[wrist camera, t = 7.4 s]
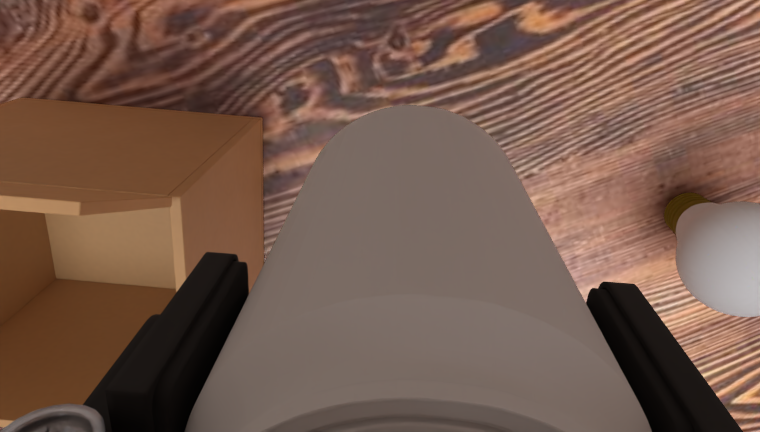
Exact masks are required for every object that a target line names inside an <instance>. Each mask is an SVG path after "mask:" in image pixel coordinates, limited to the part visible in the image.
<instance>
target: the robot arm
mask: <svg viewBox="0 0 760 432" xmlns="http://www.w3.org/2000/svg"><path fill="white" fill-rule="evenodd" d="M248 295H249V285H248V266H247V263H246V262H239V260H238V256H237V255H236V254H229V253H216V252H206V253H205V254H204V256H203V257H202V258H201V260H200V261H199V262H198V264H197V265H196V266H195V268H194V269H193V271H192V272H191V273H190V275H189V276H188V277H187V279H186V280H185V281H184V283H183V284H182V286H181V287H180V288H179V290H178V291H177V292H176V294H175V295H174V296H173V298H172V299H171V301H170V302H169V303H168V305H167V306H166V307H165V309H164V310H163V311H162V313H161V314H155V315H152V316H151V317H149V318H148V319H147V321H146V322H145V323H144V324H143V326H142V327H141V328H140V330H139V331H138V332H137V334H136V335H135V336H134V338H133V339H132V340H131V342H130V343H129V344H128V346H127V347H126V348H125V349H124V351H123V352H122V353H121V355H120V356H119V357H118V359H117V360H116V361H115V363H114V364H113V365H112V367H111V368H110V369H109V371H108V372H107V373H106V374H105V376H104V377H103V378H102V380H101V381H100V382H99V384H98V385H97V386H96V388H95V389H94V390H93V392H92V393H91V394H90V396H89V397H88V398H87V400H86V401H85V402H84V403H83V405H79V404H60V405H52V406H48V407H45V408H41V409H38V410H35V411H32V412H30V413H28V414H26V415H24V416H22V417H19V418H18V419H16V420H15V421H13V422H12V423H10V424H9V425H7V426H6V427H4V428H3V429H2V430H1V431H0V432H185V429H186V426H187V422H188V419H189V416H190V414H191V411H192V409H193V407H194V405H195V403H196V400H197V398H198V396H199V394H200V392H201V390H202V388H203V386H204V384H205V382H206V380H207V378H208V376H209V374H210V372H211V370H212V368H213V366H214V364H215V362H216V360H217V358H218V356H219V354H220V352H221V350H222V348H223V346H224V344H225V342H226V340H227V338H228V336H229V334H230V332H231V330H232V328H233V326H234V324H235V322H236V319H237V317H238V315H239V313H240V311H241V309H242V307H243V305H244V303H245V301H246V299H247V297H248ZM586 305H587V306H588V308H589V310H590V312H591V314H592V316H593V318H594V319H595V321H596V323H597V325H598V327H599V329H600V331H601V333H602V334H603V336H604V338H605V340H606V342H607V344H608V346H609V347H610V349H611V351H612V353H613V355H614V357H615V359H616V361H617V362H618V364H619V366H620V368H621V370H622V372H623V374H624V375H625V377H626V379H627V381H628V383H629V385H630V387H631V389H632V390H633V392H634V394H635V396H636V398H637V400H638V402H639V404H640V406H641V408H642V410H643V412H644V414H645V416H646V418H647V420H648V423H649V425H650V428H651V431H652V432H743V431H742V430H741V428H740V427H739V426H738V424H737V423H736V422H735V420H734V419H733V417H732V416H731V415H730V413H729V412H728V411H727V409H726V408H725V407H724V405H723V404H722V402H721V401H720V400H719V398H718V397H717V396H716V394H715V393H714V391H713V390H712V389H711V387H710V386H709V385H708V383H707V382H706V380H705V379H704V378H703V376H702V375H701V374H700V372H699V371H698V369H697V368H696V367H695V365H694V364H693V363H692V361H691V360H690V359H689V357H688V356H687V354H686V353H685V352H684V350H683V349H682V348H681V346H680V345H679V343H678V342H677V341H676V339H675V338H674V337H673V335H672V334H671V332H670V331H669V330H668V328H667V327H666V326H665V324H664V323H663V321H662V320H661V319H660V317H659V316H658V315H657V313H656V312H655V311H654V309H653V308H652V306H651V305H650V304H649V302H648V301H647V300H646V298H645V297H644V295H643V294H642V293H641V291H640V290H639V289H638V287H637V286H636V285H635V284H627V283H614V282H603V283H601V284H600V286H599V288H598V289H596V288H592V289H591V290H590V292H589V295H588V298H587V302H586Z"/></svg>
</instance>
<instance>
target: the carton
mask: <svg viewBox="0 0 760 432" xmlns="http://www.w3.org/2000/svg"><path fill="white" fill-rule="evenodd" d="M0 182H7V183H19V184H30V185H42V186H53V187H65V188H76V189H88V190H99V191H111V192H122V193H134V194H145V195H157V196H168V197H172V206H171V207H167V208H157V209H147V210H137V211H127V212H117V213H106V214H96V215H86V216H70V215H59V214H48V213H36V212H25V211H13V210H2V209H0V427H6V426H7V425H9V424H10V423H12V422H13V421H15V420H16V419H18V418H19V417H22V416H24V415H26V414H28V413H30V412H32V411H35V410H38V409H41V408H45V407H48V406H52V405H60V404H79V405H83V403H84V402H85V401H86V400H87V398H88V397H89V396H90V394H91V393H92V392H93V390H94V389H95V388H96V386H97V385H98V384H99V382H100V381H101V380H102V378H103V377H104V376H105V374H106V373H107V372H108V371H109V369H110V368H111V367H112V365H113V364H114V363H115V361H116V360H117V359H118V357H119V356H120V355H121V353H122V352H123V351H124V349H125V348H126V347H127V346H128V344H129V343H130V342H131V340H132V339H133V338H134V336H135V335H136V334H137V332H138V331H139V330H140V328H141V327H142V326H143V324H144V323H145V322H146V321H147V319H148V318H149V317H151V316H152V315H155V314H161V313H162V311H163V310H164V309H165V307H166V306H167V305H168V303H169V302H170V301H171V299H172V298H173V296H174V295H175V294H176V292H177V291H178V290H179V288H180V287H181V286H182V284H183V283H184V281H185V280H186V279H187V277H188V276H189V275H190V273H191V272H192V271H193V269H194V268H195V266H196V265H197V264H198V262H199V261H200V260H201V258H202V257H203V256H204V254H205V253H206V252H216V253H229V254H236V255H237V256H238V260H239V262H246V263H247V266H248V285H249V293H250V291H251V289H252V287H253V285H254V283H255V281H256V279H257V277H258V275H259V273H260V271H261V269H262V267H263V265H264V217H263V118H261V117H249V116H237V115H225V114H214V113H202V112H190V111H178V110H166V109H154V108H143V107H131V106H119V105H107V104H95V103H83V102H72V101H60V100H48V99H36V98H24V97H22V98H18V99H15V100H12V101H9V102H5V103H2V104H0Z"/></svg>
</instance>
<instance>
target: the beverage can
mask: <svg viewBox="0 0 760 432" xmlns="http://www.w3.org/2000/svg"><path fill="white" fill-rule="evenodd" d="M185 432H652V431H651V428H650V425H649V423H648V420H647V418H646V416H645V414H644V412H643V410H642V408H641V406H640V404H639V402H638V400H637V398H636V396H635V394H634V392H633V390H632V389H631V387H630V385H629V383H628V381H627V379H626V377H625V375H624V374H623V372H622V370H621V368H620V366H619V364H618V362H617V361H616V359H615V357H614V355H613V353H612V351H611V349H610V347H609V346H608V344H607V342H606V340H605V338H604V336H603V334H602V333H601V331H600V329H599V327H598V325H597V323H596V321H595V319H594V318H593V316H592V314H591V312H590V310H589V308H588V306H587V305H586V303H585V301H584V299H583V297H582V295H581V293H580V291H579V290H578V288H577V286H576V284H575V282H574V280H573V278H572V276H571V275H570V273H569V271H568V269H567V267H566V265H565V263H564V262H563V260H562V258H561V256H560V254H559V252H558V250H557V248H556V247H555V245H554V243H553V241H552V239H551V237H550V235H549V234H548V232H547V230H546V228H545V226H544V224H543V222H542V220H541V219H540V217H539V215H538V213H537V211H536V209H535V207H534V206H533V204H532V202H531V200H530V198H529V196H528V194H527V192H526V191H525V189H524V187H523V185H522V183H521V181H520V179H519V177H518V176H517V174H516V172H515V170H514V168H513V166H512V164H511V163H510V161H509V159H508V157H507V156H506V154H505V153H504V151H503V150H502V148H501V147H500V146H499V145H498V143H497V142H496V141H495V140H494V139H493V138H492V137H491V136H490V135H489V134H488V133H487V132H486V131H484V130H483V129H482V128H481V127H479V126H478V125H476V124H475V123H473V122H472V121H470V120H468V119H467V118H465V117H463V116H461V115H458V114H456V113H453V112H451V111H448V110H445V109H441V108H435V107H427V106H417V105H402V106H395V107H389V108H384V109H380V110H377V111H374V112H372V113H369V114H367V115H364V116H362V117H360V118H358V119H357V120H355V121H353V122H351V123H350V124H348V125H347V126H345V127H344V128H343V129H342V130H340V131H339V132H338V133H337V134H336V135H334V136H333V137H332V138H331V139H330V141H329V142H328V143H327V144H326V145H325V146H324V148H323V149H322V150H321V152H320V153H319V155H318V157H317V158H316V160H315V162H314V164H313V166H312V168H311V170H310V172H309V174H308V176H307V178H306V180H305V182H304V184H303V186H302V188H301V190H300V192H299V194H298V196H297V198H296V200H295V202H294V204H293V206H292V208H291V210H290V212H289V214H288V216H287V218H286V220H285V222H284V224H283V226H282V228H281V230H280V232H279V234H278V236H277V238H276V241H275V243H274V245H273V247H272V249H271V251H270V253H269V255H268V257H267V259H266V261H265V263H264V265H263V267H262V269H261V271H260V273H259V275H258V277H257V279H256V281H255V283H254V285H253V287H252V289H251V291H250V293H249V295H248V297H247V299H246V301H245V303H244V305H243V307H242V309H241V311H240V313H239V315H238V317H237V319H236V322H235V324H234V326H233V328H232V330H231V332H230V334H229V336H228V338H227V340H226V342H225V344H224V346H223V348H222V350H221V352H220V354H219V356H218V358H217V360H216V362H215V364H214V366H213V368H212V370H211V372H210V374H209V376H208V378H207V380H206V382H205V384H204V386H203V388H202V390H201V392H200V394H199V396H198V398H197V400H196V403H195V405H194V407H193V409H192V411H191V414H190V416H189V419H188V422H187V426H186V429H185Z"/></svg>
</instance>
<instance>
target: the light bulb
mask: <svg viewBox="0 0 760 432" xmlns="http://www.w3.org/2000/svg"><path fill="white" fill-rule="evenodd" d="M664 219H665V222H666V224H667V225H668V226H669V228H670V229H671V230H672V231H673V232H674V233H675V235H676V238H677V241H678V243H677V248H676V265H677V270H678V273H679V275H680V278H681V280H682V282H683V283H684V285H685V286H686V288H687V289H688V291H689V292H690V293H691V294H692V295H693V296H694V297H695V298H696V299H698V300H699V301H700V302H702V303H703V304H704V305H706V306H708V307H710V308H712V309H714V310H716V311H718V312H721V313H725V314H728V315H733V316H740V317H754V316H760V204H759V203H753V202H729V203H723V204H717V203H712V202H711V201H709V200H707V199H706V198H704V197H702V196H701V195H699V194H696V193H684V194H680V195H678V196H676V197H675V198H673V199H672V200H671V201H670V202H669V203H668V205H667V207H666V209H665V212H664Z"/></svg>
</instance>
